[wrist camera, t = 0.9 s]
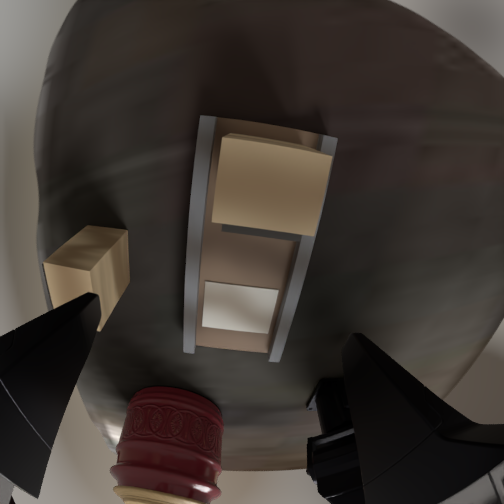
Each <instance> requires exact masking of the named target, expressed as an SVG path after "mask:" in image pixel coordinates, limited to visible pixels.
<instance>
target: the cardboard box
mask: <svg viewBox="0 0 504 504" xmlns="http://www.w3.org/2000/svg"><path fill="white" fill-rule="evenodd" d="M42 266H43V271H44V276H45V280H46V285H47V289H48V293H49V297H50V301H51V305H52V308H53V309H55V308H57V307H59V306H61V305H63V304H65V303H67V302H69V301H71V300H73V299H75V298H77V297H79V296H81V295H83V294H85V293H87V292H92V293H96V294H98V295H99V297H100V304H101V312H102V316H101V320H100V323H99V326H98V329H97V331H101V330H102V328H103V326H104V324H105V323H106V321H107V319H108V317H109V316H110V314H111V312H112V311H113V309H114V307H115V305H116V304H117V302H118V300H119V299H120V297H121V296H122V294H123V292H124V291H125V289H126V287H127V286H128V284H129V283H130V273H129V254H128V230H123V229H115V228H107V227H99V226H91V225H87V226H86V227H85V228H83V229H82V230H81V231H80V232H78V233H77V234H76V235H75V236H73V237H72V238H71V239H70V240H68V241H67V242H66V243H65V244H64V245H62V246H61V247H60V248H59V249H58V250H57V251H55V252H54V253H53V254H52V255H51V256H50V257H48V258H47V259H46V260H45V261H44V262H43V264H42Z"/></svg>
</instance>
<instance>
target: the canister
mask: <svg viewBox="0 0 504 504" xmlns="http://www.w3.org/2000/svg"><path fill="white" fill-rule="evenodd" d="M126 414H127V415H126V419H125V422H124V426H123V429H122V433H121V436H120V440H119V443H118V444H117V446H116V452H117V454H118V458H117V464H116V465H114V466H112V467H111V468H110V473H111V475H112V476H113V477H114V478H115V479H116V480H117V482H118V486H115V487H114V488H113V491H114V492H115V493H116V494H117V495H118V496H119V497H120V498H121V499H122V500H123V501H124V503H125V504H210V502H211V501H212V500H215V499H217V498H218V497H220V496H221V490H220V489H219V488H218V487H217V478H218V476H219V475H220V474H221V472H222V467H221V445H222V435H223V432H224V429H223V428H224V423H223V420H222V414H221V412H220V410H219V409H218V407H217V406H216V405H214V404H213V403H212V402H211V401H209V400H208V399H206V398H204V397H202V396H200V395H198V394H195V393H193V392H190V391H186V390H183V389H178V388H173V387H161V386H159V387H148V388H144V389H141V390H139V391H138V392H136V393H135V394H134V396H133V398H132V399H131V401H130V402H129V404H128V408H127V411H126Z"/></svg>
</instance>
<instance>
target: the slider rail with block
mask: <svg viewBox="0 0 504 504" xmlns="http://www.w3.org/2000/svg"><path fill="white" fill-rule="evenodd" d="M337 140H338V138H334V137H330V136H326V135H321V134H316V133H311V132H307V131H302V130H297V129H292V128H287V127H281V126H276V125H270V124H264V123H258V122H251V121H244V120H237V119H229V118H220V117H214V116H203V115H200V122H199V129H198V136H197V144H196V152H195V161H194V169H193V179H192V189H191V199H190V211H189V223H188V237H187V252H186V271H185V295H184V352H185V353H192V354H194V352H195V346H196V345H199V346H206V347H214V348H223V349H232V350H241V351H252V352H264V353H268V358H269V362H279V361H280V358H281V355H282V352H283V349H284V346H285V343H286V339H287V336H288V333H289V330H290V327H291V323H292V320H293V317H294V313H295V310H296V307H297V303H298V300H299V296H300V293H301V289H302V286H303V282H304V279H305V275H306V272H307V268H308V264H309V260H310V257H311V253H312V249H313V245H314V241H315V237H316V233H317V230H318V225H319V221H320V217H321V213H322V209H323V205H324V201H325V196H326V192H327V187H328V183H329V178H330V174H331V169H332V165H333V160H334V155H335V150H336V145H337Z"/></svg>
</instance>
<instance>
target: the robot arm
mask: <svg viewBox="0 0 504 504" xmlns="http://www.w3.org/2000/svg"><path fill="white" fill-rule="evenodd" d="M101 316H102V312H101V304H100V297H99V295H98V294H96V293H92V292H87V293H85V294H83V295H81V296H79V297H77V298H75V299H73V300H71V301H69V302H67V303H65V304H63V305H61V306H59V307H57V308H55V309H53V310H51V311H49V312H47V313H45V314H43V315H41V316H39V317H37V318H35V319H33V320H31V321H29V322H27V323H25V324H24V325H21V326H20V327H18V328H16V329H15V330H12V331H10V332H8V333H6V334H4V335H2V336H0V504H15V502H14V500H13V497H12V492H13V488H14V486H16V487H18V488H19V489H21V490H23V491H24V492H26V493H28V494H30V495H31V496H33V497H35V498H37V499H38V497H39V494H40V489H41V486H42V482H43V478H44V474H45V471H46V467H47V464H48V460H49V457H50V454H51V449H52V447H53V444H54V440H55V438H56V435H57V432H58V429H59V426H60V423H61V421H62V418H63V415H64V413H65V410H66V407H67V405H68V402H69V400H70V397H71V395H72V392H73V390H74V387H75V385H76V382H77V380H78V378H79V375H80V373H81V371H82V368H83V366H84V364H85V362H86V359H87V357H88V355H89V352H90V349H91V346H92V343H93V340H94V337H95V334H96V332H97V329H98V326H99V323H100V320H101ZM342 362H343V371H344V378H342V379H322V380H320V382H319V384H318V386H317V388H316V390H315V392H314V394H313V395H312V397H311V399H310V401H309V403H308V405H307V407H306V408H307V411H317V412H318V417H319V421H320V426H321V431H322V435H319V436H315V437H310V438H308V444H307V469H306V472H307V474H308V475H310V476H311V478H312V480H313V482H314V483H315V484H317V487H318V492H319V494H320V495H322V497H324V498H325V499H326V500H327V501H329V502H330V503H331V504H504V424H489V425H487V424H478V423H475V422H473V421H471V420H470V419H468V418H467V417H465V416H464V415H462V414H461V413H459V412H458V411H457V410H455V409H454V408H453V407H451V406H450V405H448V404H447V403H446V402H444V401H443V400H442V399H440V398H439V397H438V396H437V395H435V394H434V393H433V392H432V391H430V390H429V389H428V388H427V387H426V386H424V385H423V384H422V383H421V382H420V381H418V380H417V379H416V378H415V377H414V376H413V375H411V374H410V373H409V372H408V371H407V370H405V369H404V368H403V367H402V366H401V365H399V364H398V363H397V362H396V361H395V360H393V359H392V358H391V357H390V356H389V355H387V354H386V353H385V352H384V351H383V350H381V349H380V348H379V347H378V346H377V345H375V344H374V343H373V342H372V341H370V340H369V339H368V338H367V337H366V336H364V335H363V334H362V333H351V334H350V335H349V337H348V339H347V341H346V343H345V345H344V347H343V349H342Z"/></svg>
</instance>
